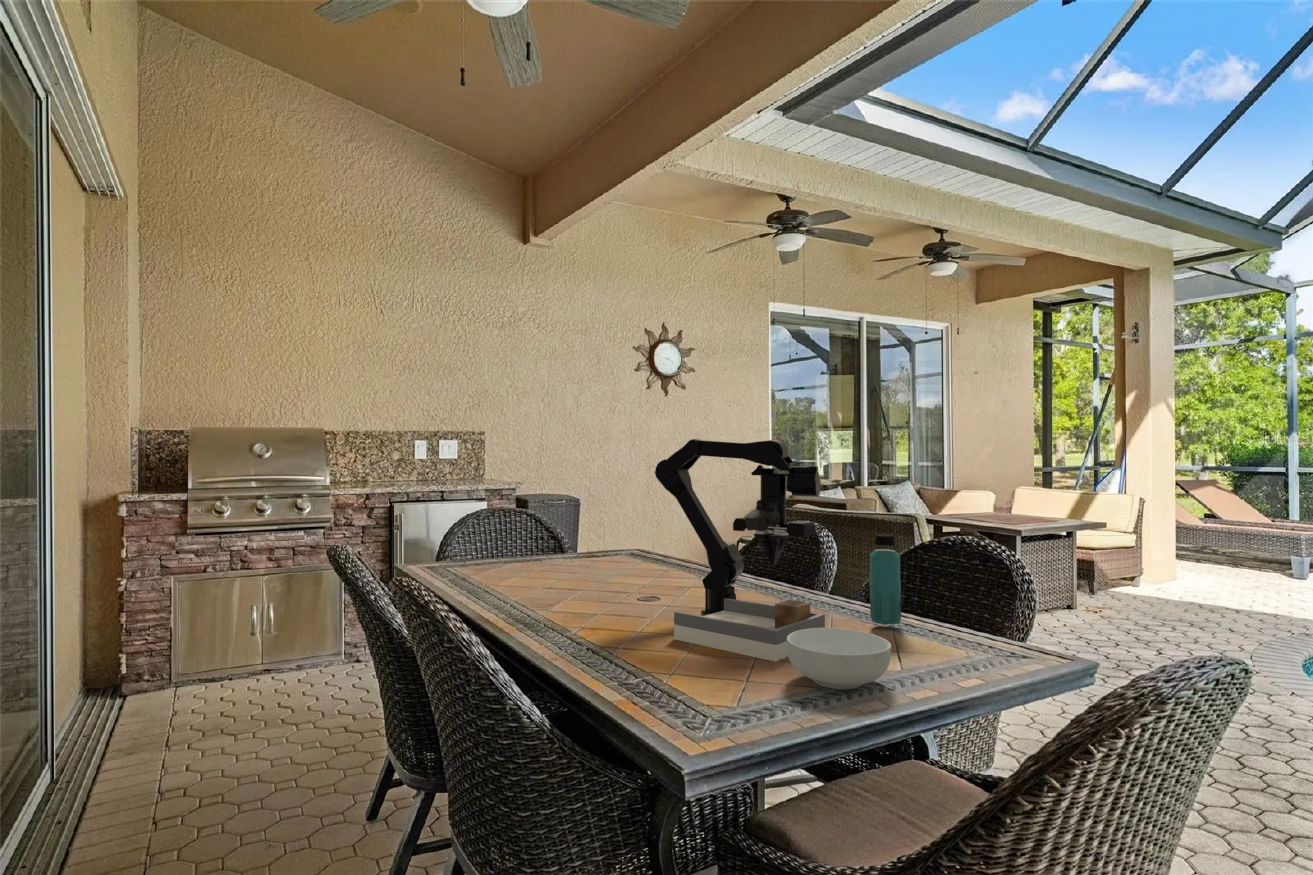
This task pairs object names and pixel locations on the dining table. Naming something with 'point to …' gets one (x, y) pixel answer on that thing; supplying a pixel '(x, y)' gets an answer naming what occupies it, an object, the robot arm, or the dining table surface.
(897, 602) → the beverage bottle
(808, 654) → the cereal bowl
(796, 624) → the trap box
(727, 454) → the robot arm
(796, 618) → the walnut block
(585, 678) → the dining table surface
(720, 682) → the dining table surface
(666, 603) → the dining table surface
